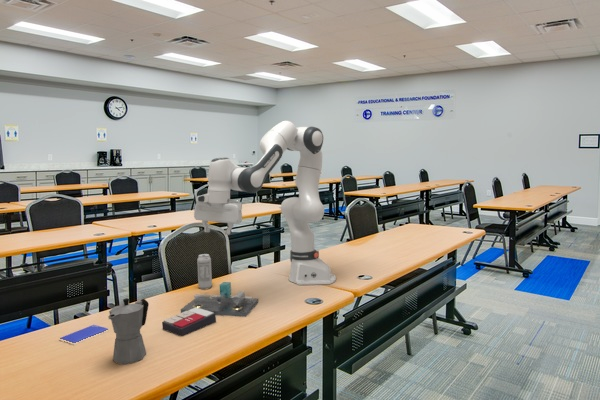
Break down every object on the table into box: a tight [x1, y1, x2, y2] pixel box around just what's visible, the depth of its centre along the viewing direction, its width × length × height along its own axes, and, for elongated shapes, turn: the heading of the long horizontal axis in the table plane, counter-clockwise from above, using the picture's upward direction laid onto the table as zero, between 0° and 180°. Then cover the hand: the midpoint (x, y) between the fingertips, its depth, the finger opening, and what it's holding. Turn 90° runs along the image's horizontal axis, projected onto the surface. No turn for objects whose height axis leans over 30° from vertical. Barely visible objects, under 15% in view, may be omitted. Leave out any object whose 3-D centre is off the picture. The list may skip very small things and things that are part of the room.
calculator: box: [162, 307, 217, 337], centre depth 151 cm, size 11×4×15 cm
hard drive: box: [59, 324, 109, 343], centre depth 145 cm, size 2×8×12 cm
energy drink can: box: [196, 253, 213, 290], centre depth 195 cm, size 6×6×15 cm
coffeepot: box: [107, 298, 149, 365], centre depth 128 cm, size 15×9×18 cm, turn 159°
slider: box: [217, 281, 232, 306], centre depth 169 cm, size 3×9×7 cm, turn 169°
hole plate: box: [180, 290, 260, 318], centre depth 169 cm, size 26×16×6 cm, turn 79°
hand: (217, 233), depth 171 cm, fingers open, 8 cm apart
